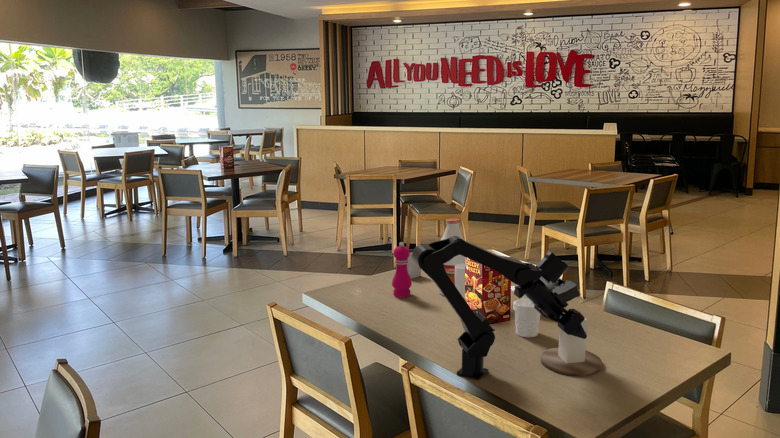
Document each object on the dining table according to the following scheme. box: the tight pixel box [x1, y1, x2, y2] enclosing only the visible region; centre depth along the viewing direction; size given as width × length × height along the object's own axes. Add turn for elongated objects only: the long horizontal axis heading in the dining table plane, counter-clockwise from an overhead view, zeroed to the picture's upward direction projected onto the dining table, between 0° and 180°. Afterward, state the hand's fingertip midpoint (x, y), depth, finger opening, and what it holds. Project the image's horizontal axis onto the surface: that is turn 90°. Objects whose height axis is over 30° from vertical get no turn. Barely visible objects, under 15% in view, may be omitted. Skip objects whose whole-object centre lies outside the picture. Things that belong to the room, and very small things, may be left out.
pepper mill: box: [391, 241, 412, 298], centre depth 228 cm, size 7×7×20 cm
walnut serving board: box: [540, 346, 603, 377], centre depth 170 cm, size 16×16×1 cm
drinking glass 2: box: [455, 263, 466, 298], centre depth 214 cm, size 7×7×15 cm
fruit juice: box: [438, 217, 466, 297], centre depth 228 cm, size 9×9×28 cm
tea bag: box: [407, 251, 422, 280], centre depth 252 cm, size 4×7×10 cm, turn 134°
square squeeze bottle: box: [558, 310, 589, 363], centre depth 169 cm, size 5×5×14 cm
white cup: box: [514, 298, 541, 338], centre depth 191 cm, size 8×8×10 cm
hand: (577, 331), depth 169 cm, fingers open, 9 cm apart
